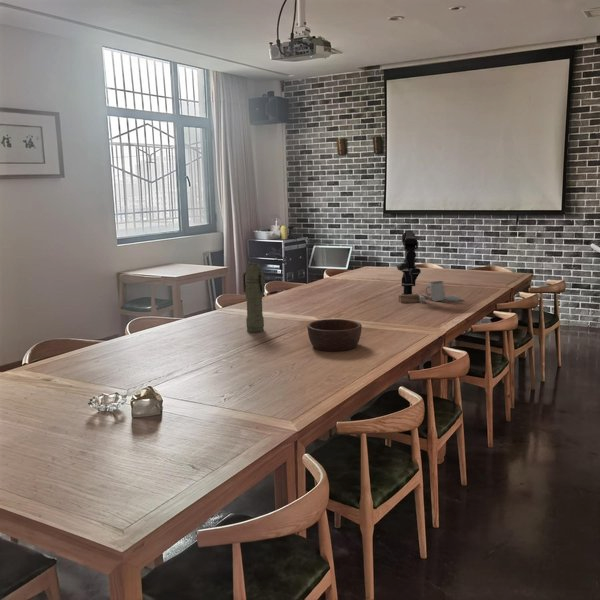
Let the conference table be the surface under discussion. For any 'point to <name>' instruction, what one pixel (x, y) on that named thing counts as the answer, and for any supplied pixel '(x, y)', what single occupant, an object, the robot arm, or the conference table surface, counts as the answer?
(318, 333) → the wooden bowl
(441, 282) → the mug
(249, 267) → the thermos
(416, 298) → the panel
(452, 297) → the mat
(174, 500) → the conference table surface
